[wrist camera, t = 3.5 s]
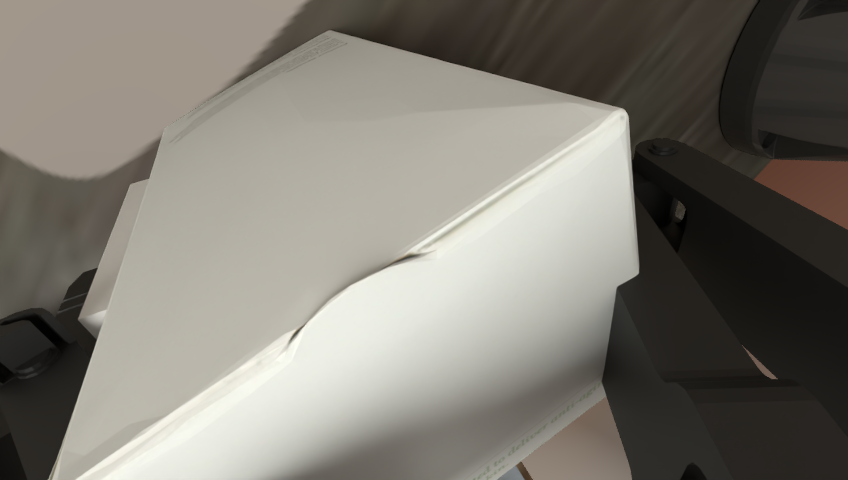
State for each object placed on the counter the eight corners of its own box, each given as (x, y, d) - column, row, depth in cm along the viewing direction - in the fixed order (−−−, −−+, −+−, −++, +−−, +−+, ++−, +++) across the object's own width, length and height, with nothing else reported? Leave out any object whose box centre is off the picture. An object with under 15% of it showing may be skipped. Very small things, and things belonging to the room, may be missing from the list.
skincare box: (257, 235, 20) (325, 623, 8) (149, 118, 16) (-49, 562, 4) (400, 146, 21) (662, 378, 9) (334, 12, 17) (660, 101, 5)
